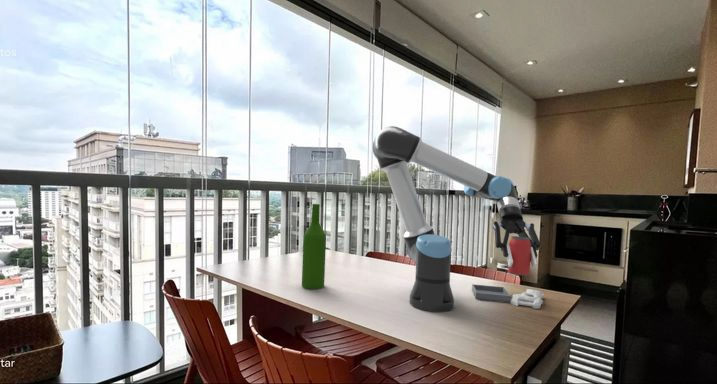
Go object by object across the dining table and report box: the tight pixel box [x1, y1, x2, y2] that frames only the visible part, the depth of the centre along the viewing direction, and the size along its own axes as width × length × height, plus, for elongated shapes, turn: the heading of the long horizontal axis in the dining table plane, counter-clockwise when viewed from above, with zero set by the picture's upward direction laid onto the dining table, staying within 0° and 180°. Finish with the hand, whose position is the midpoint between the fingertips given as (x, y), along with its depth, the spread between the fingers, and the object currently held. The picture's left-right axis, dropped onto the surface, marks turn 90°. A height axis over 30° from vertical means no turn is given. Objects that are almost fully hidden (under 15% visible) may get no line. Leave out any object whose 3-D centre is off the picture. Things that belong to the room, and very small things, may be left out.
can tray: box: [471, 283, 512, 304], centre depth 130 cm, size 12×12×2 cm
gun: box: [510, 288, 544, 310], centre depth 126 cm, size 18×3×10 cm
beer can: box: [507, 235, 531, 276], centre depth 113 cm, size 7×7×12 cm
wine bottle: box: [301, 203, 327, 290], centre depth 135 cm, size 9×9×32 cm
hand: (522, 265), depth 110 cm, fingers closed on beer can, 6 cm apart
